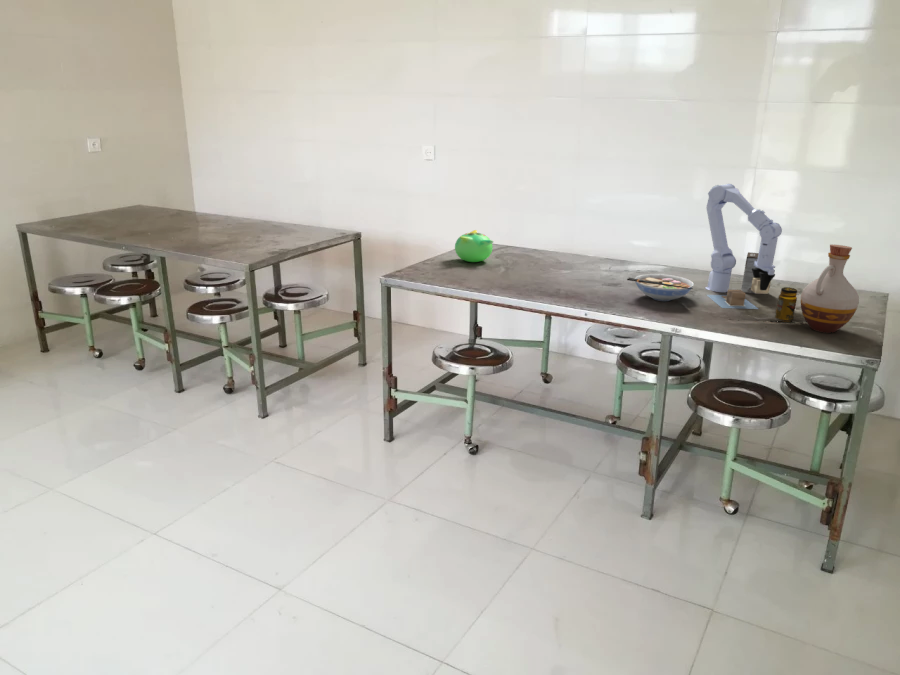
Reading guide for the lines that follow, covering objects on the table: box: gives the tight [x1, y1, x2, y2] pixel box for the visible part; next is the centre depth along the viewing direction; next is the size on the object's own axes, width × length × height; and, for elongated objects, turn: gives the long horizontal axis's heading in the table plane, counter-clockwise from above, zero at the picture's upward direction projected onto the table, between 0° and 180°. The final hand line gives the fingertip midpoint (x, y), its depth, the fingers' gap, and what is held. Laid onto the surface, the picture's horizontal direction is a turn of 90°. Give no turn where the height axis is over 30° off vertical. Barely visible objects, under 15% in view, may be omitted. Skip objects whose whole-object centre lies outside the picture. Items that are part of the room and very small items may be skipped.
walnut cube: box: [726, 289, 747, 306], centre depth 262 cm, size 5×5×5 cm
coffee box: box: [740, 251, 759, 295], centre depth 280 cm, size 9×6×16 cm
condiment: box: [770, 286, 798, 325], centre depth 246 cm, size 7×8×12 cm
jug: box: [800, 243, 860, 334], centre depth 233 cm, size 20×18×30 cm
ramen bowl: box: [626, 273, 695, 302], centre depth 270 cm, size 25×23×8 cm
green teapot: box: [454, 229, 494, 263], centre depth 322 cm, size 18×17×15 cm
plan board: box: [706, 294, 759, 310], centre depth 266 cm, size 18×14×1 cm
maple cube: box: [751, 278, 772, 295], centre depth 267 cm, size 5×5×5 cm
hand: (760, 288), depth 268 cm, fingers closed on maple cube, 5 cm apart
